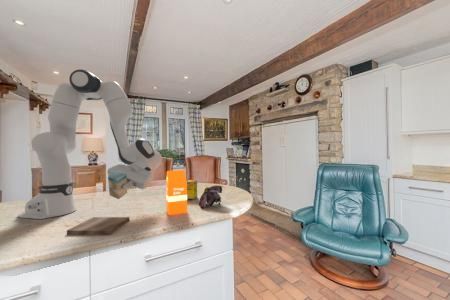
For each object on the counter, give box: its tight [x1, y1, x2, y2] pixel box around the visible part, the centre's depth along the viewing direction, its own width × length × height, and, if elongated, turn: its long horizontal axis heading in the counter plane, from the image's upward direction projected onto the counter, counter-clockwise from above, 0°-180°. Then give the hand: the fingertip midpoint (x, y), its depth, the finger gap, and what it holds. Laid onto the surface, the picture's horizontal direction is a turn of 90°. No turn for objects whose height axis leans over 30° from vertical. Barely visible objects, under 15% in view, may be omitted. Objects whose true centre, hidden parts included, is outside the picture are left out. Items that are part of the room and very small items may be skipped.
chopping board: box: [66, 216, 130, 236], centre depth 81 cm, size 16×14×2 cm
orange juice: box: [165, 169, 188, 216], centre depth 100 cm, size 8×9×20 cm
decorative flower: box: [198, 185, 223, 210], centre depth 109 cm, size 15×12×15 cm
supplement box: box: [186, 179, 198, 201], centre depth 124 cm, size 6×6×11 cm
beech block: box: [107, 171, 128, 200], centre depth 90 cm, size 5×5×10 cm
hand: (116, 185), depth 89 cm, fingers closed on beech block, 5 cm apart
